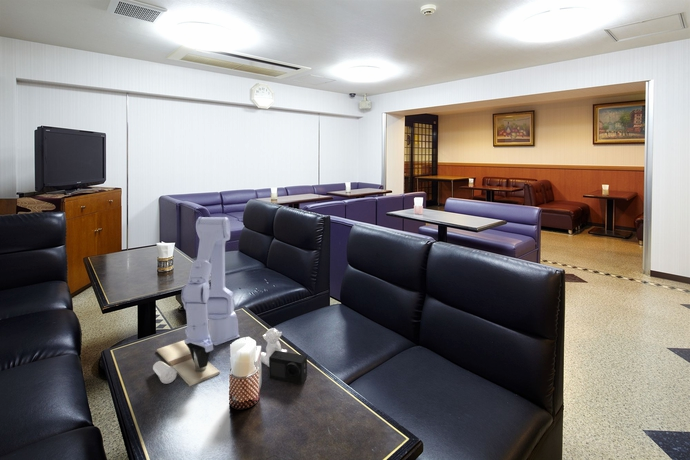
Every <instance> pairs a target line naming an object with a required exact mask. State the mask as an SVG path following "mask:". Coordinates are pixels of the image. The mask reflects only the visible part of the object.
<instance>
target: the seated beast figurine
mask: <svg viewBox="0 0 690 460" xmlns="http://www.w3.org/2000/svg"><path fill="white" fill-rule="evenodd" d="M282 334H283V332H282V331H279V330H278V329H276V328H275V327H274V328H273V327H272V328H268V330H267V331H266V332H265V333H264V334H262V338H263V340H265V341H266V343H267V344H266V347H265V352H264V351H261V363H262V364H264V365H265V366H267V367H268V368H269V357H270V356H271V355H272V353H273V352H274V351H275V350H276V351H282V352H288V350H287V349H283V348H282V346H281V343H280V340H279V339H280V338H281V337H282Z"/></svg>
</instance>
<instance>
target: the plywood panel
mask: <svg viewBox="0 0 690 460" xmlns="http://www.w3.org/2000/svg"><path fill="white" fill-rule="evenodd" d="M156 352H157V353H158V355H160V356H161V357H162V359H164V361H165V363H166V364H167V365H169V366H171V367H172V368H179V369H175V370H176V372H177V375H178V376H180V378H181V379H182V380H183V381H184V382H185V383H186V384H187V385H188V386H189V387H191V386H194V385H196V384H199V383H200V382H203V381H205V380H208V379H210V378H213V377H215V376H218V375H220V370H219V369H218V368H217V367H215V366H214V365H213V364H212V363H211V362H210V361H208V363H207V366H206V370H204V371H202V372H196V371H195V363H194V361H193V359H192V355H191V353H190V350H189V348H188V347H187V345H186V344H185V342H184V340H180V341H177V342H174V343H171V344H167V345H165V346H162V347H160V348H159V347H158V348H157V349H156Z"/></svg>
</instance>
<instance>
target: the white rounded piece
mask: <svg viewBox="0 0 690 460" xmlns="http://www.w3.org/2000/svg"><path fill="white" fill-rule="evenodd" d="M175 369H179V368H172V367H171V366H170V365H169V364H168V363H167V362H164V361H162V360H159V361H156V362H155V363H154V364H153V365H152V370H153V371H154V373H155V374H156V375H157V377H158V379H159V380H160V382H161V383H163V384H165V385H166V384H170V383H172V382H173V381H174V380H176V379H177V375H178V373H177V372H176V370H175Z"/></svg>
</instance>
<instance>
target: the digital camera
mask: <svg viewBox="0 0 690 460" xmlns="http://www.w3.org/2000/svg"><path fill="white" fill-rule="evenodd" d="M268 368H269V369H268V370H269V373H268V374H269V379H271V380H277V381H281V382H287V383H292V384H298V385H303V383H304V381H305V380H306V379H307V378H308V355H304V354H300V353H299V354H298V353H293V352H288V351H287V352H282V351H276V350H275V351H274V352H273V353H272V355H271V356H270V357H269V367H268Z"/></svg>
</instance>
